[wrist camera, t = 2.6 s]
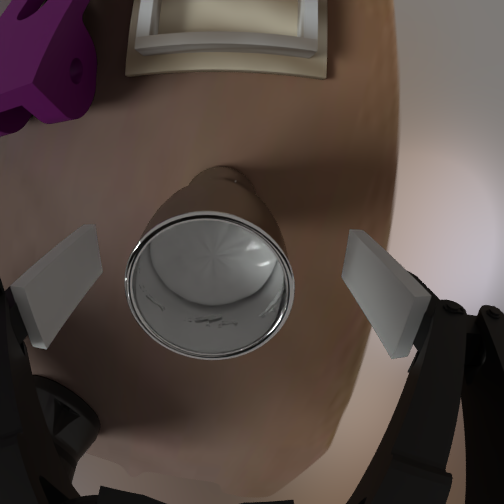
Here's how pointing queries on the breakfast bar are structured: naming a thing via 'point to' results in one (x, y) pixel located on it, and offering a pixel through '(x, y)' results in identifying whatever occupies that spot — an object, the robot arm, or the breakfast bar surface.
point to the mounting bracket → (45, 63)
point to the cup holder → (228, 37)
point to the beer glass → (211, 270)
